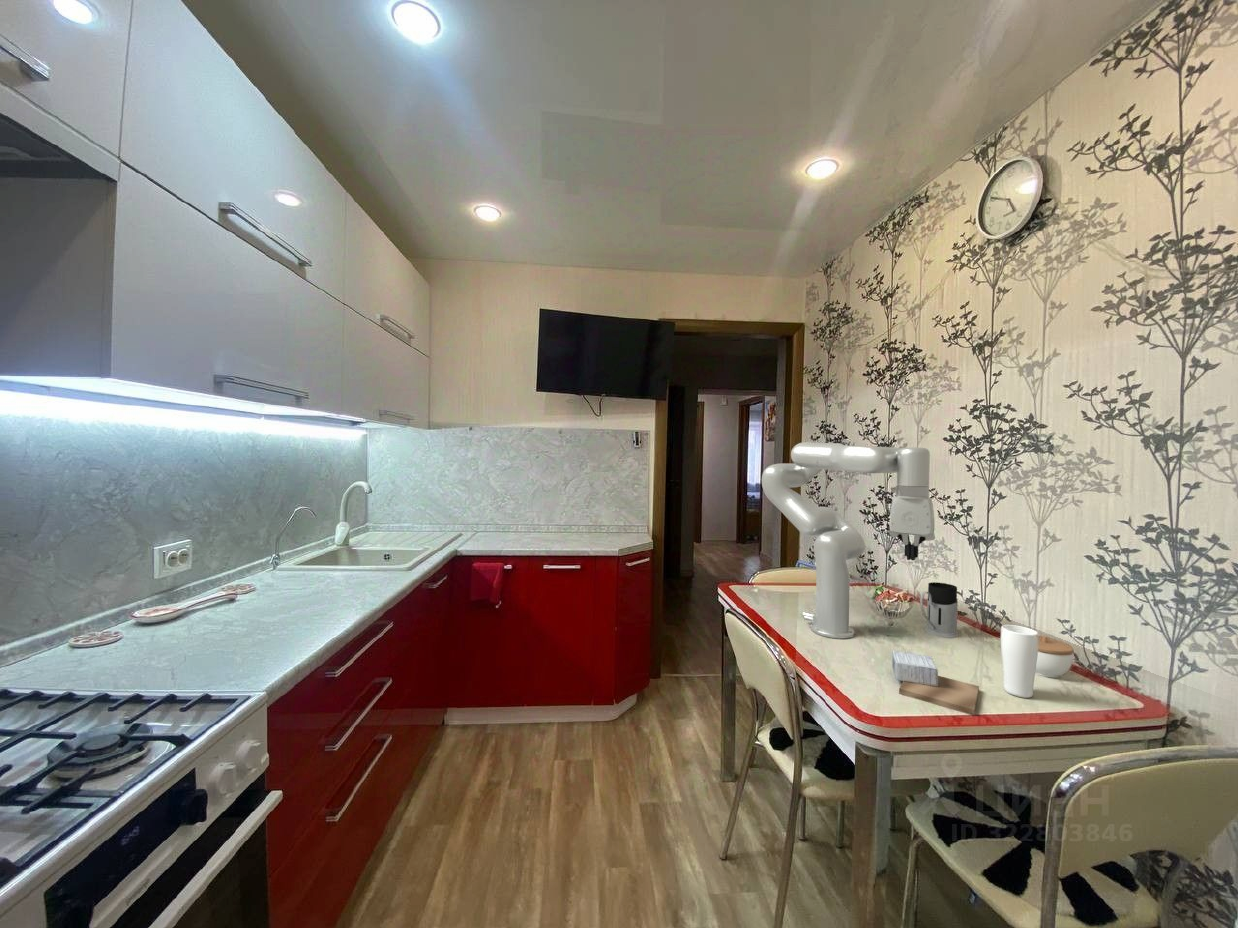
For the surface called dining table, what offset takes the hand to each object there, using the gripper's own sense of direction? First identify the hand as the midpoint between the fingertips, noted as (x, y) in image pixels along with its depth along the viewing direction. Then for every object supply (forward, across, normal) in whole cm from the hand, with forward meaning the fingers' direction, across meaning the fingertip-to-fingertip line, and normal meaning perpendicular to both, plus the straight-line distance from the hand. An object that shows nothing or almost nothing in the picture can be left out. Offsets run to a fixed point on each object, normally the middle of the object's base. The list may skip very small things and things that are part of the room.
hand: (911, 559), depth 130 cm
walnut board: (+27, +9, -18) cm, 34 cm away
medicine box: (+24, -1, -17) cm, 29 cm away
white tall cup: (+27, +23, -6) cm, 36 cm away
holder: (+27, +3, +26) cm, 38 cm away
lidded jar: (+27, +28, +13) cm, 41 cm away
